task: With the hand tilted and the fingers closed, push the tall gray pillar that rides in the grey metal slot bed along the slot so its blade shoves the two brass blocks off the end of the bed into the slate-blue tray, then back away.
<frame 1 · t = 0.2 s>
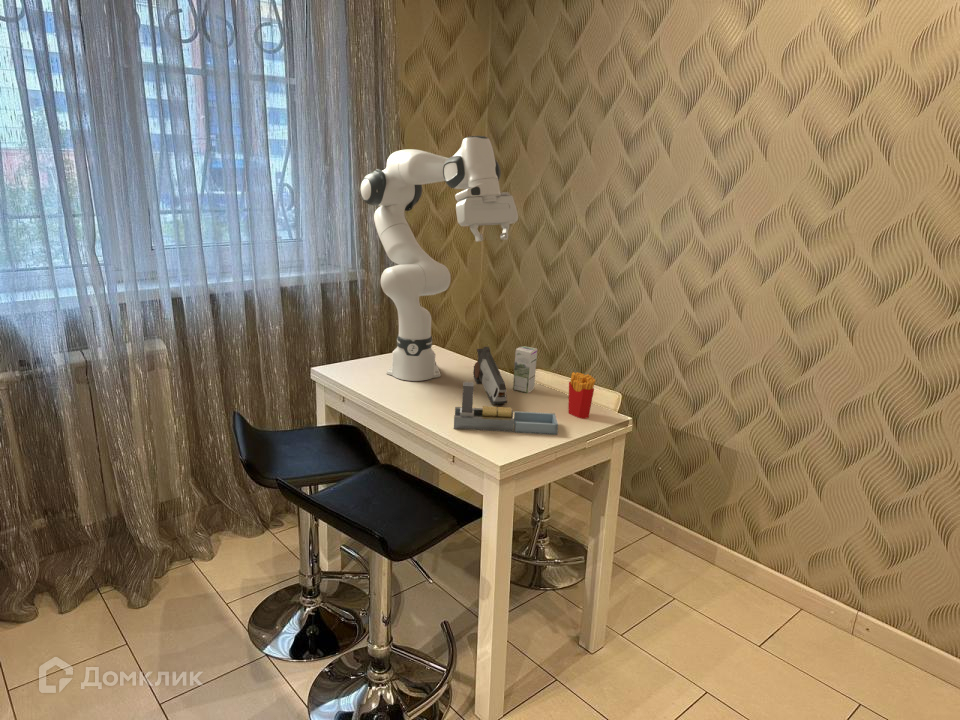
hand: (492, 240, 198), 52 cm above the table, tool tilted 20°, fingers open, 8 cm apart
tall gray pillar: (467, 402, 198), point 7 cm above the table, slide at 0.0 cm
french fries: (578, 415, 212), on the table
mustard yellow cube: (503, 422, 200), point 1 cm above the table, touching slot bed
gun: (488, 393, 227), on the table
tray: (535, 427, 200), on the table
syrup box: (523, 390, 232), on the table
slot bed: (483, 424, 200), on the table
golden tan cube: (488, 421, 200), point 1 cm above the table, touching slot bed
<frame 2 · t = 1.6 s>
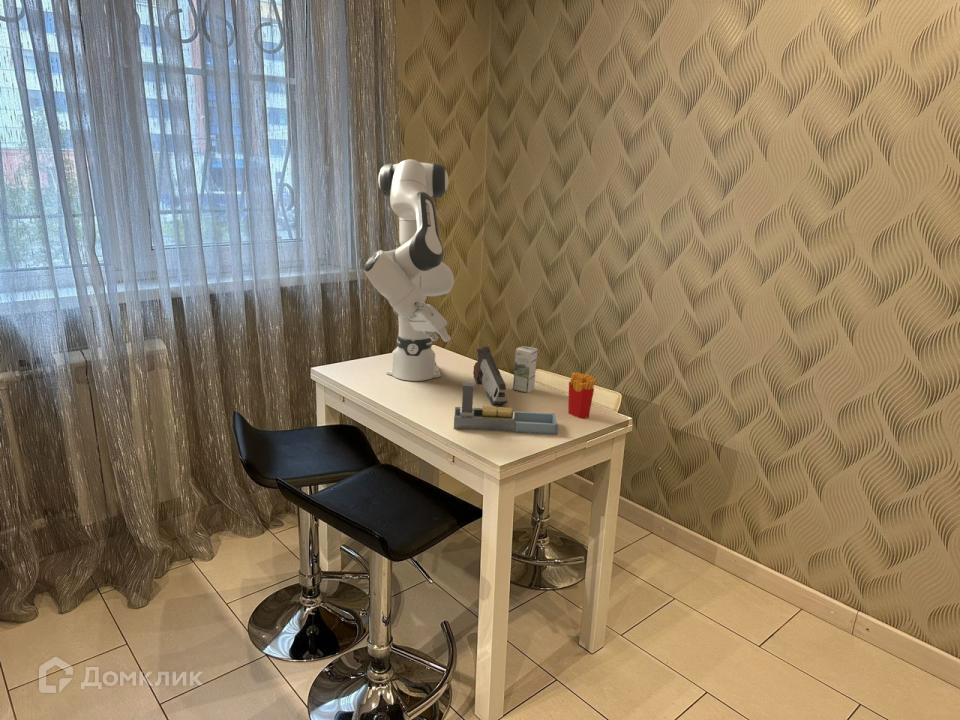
hand: (442, 340, 193), 25 cm above the table, tool tilted 40°, fingers open, 8 cm apart
nothing on the table moved.
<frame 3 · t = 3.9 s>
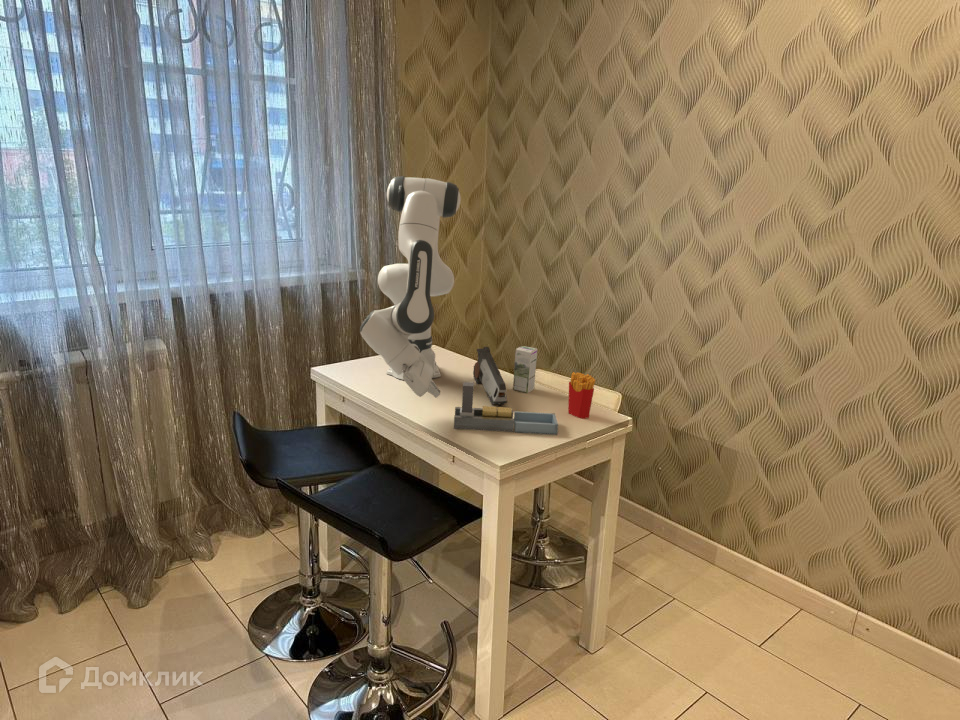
hand: (438, 394, 197), 9 cm above the table, tool tilted 45°, fingers closed
nothing on the table moved.
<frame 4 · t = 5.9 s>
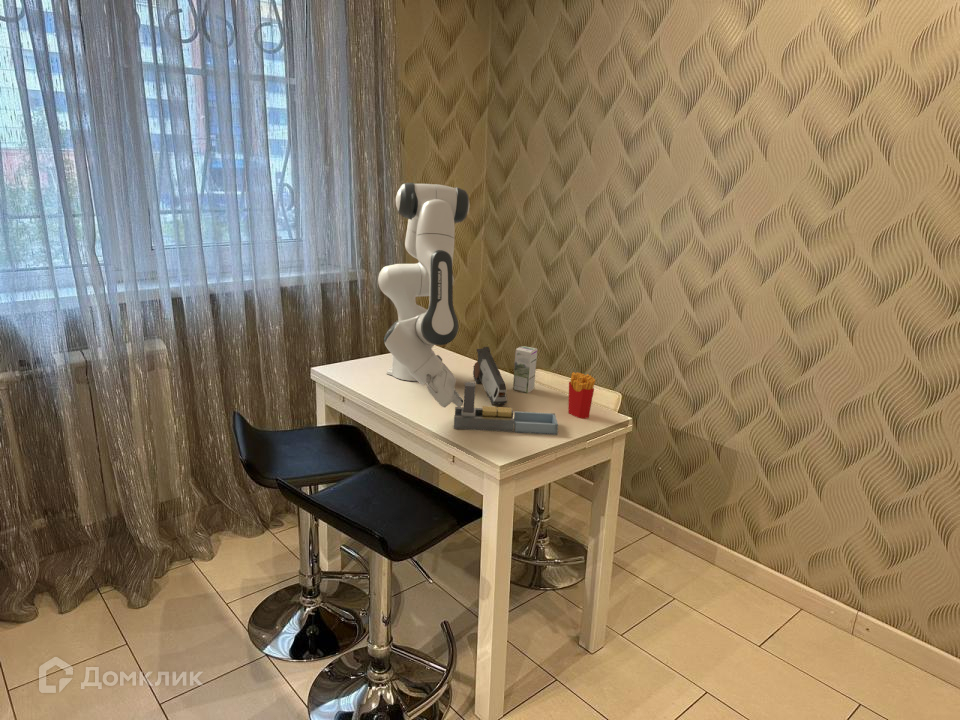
hand: (461, 404, 198), 6 cm above the table, tool tilted 45°, fingers closed, pressing on tall gray pillar
tall gray pillar: (469, 402, 198), point 7 cm above the table, slide at 0.5 cm, touching gripper
everything else where it was.
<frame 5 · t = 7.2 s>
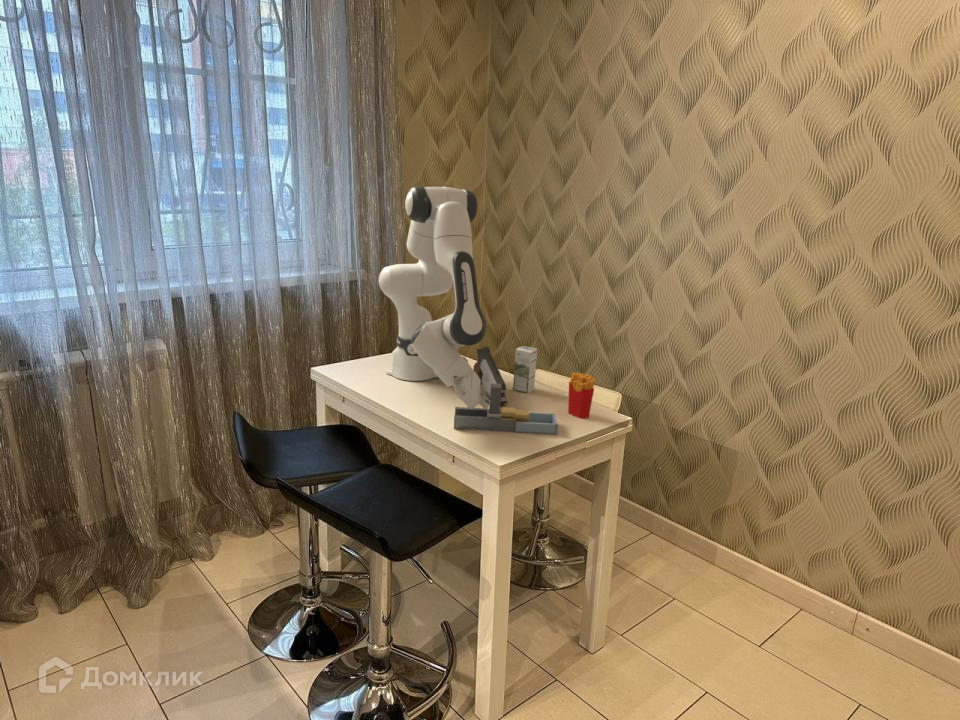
hand: (487, 406, 198), 6 cm above the table, tool tilted 45°, fingers closed, pressing on tall gray pillar
tall gray pillar: (494, 403, 198), point 7 cm above the table, slide at 7.9 cm, touching golden tan cube, gripper
mustard yellow cube: (521, 425, 200), point 1 cm above the table, touching golden tan cube, tray
golden tan cube: (507, 422, 200), point 1 cm above the table, touching mustard yellow cube, tall gray pillar
everything else where it was.
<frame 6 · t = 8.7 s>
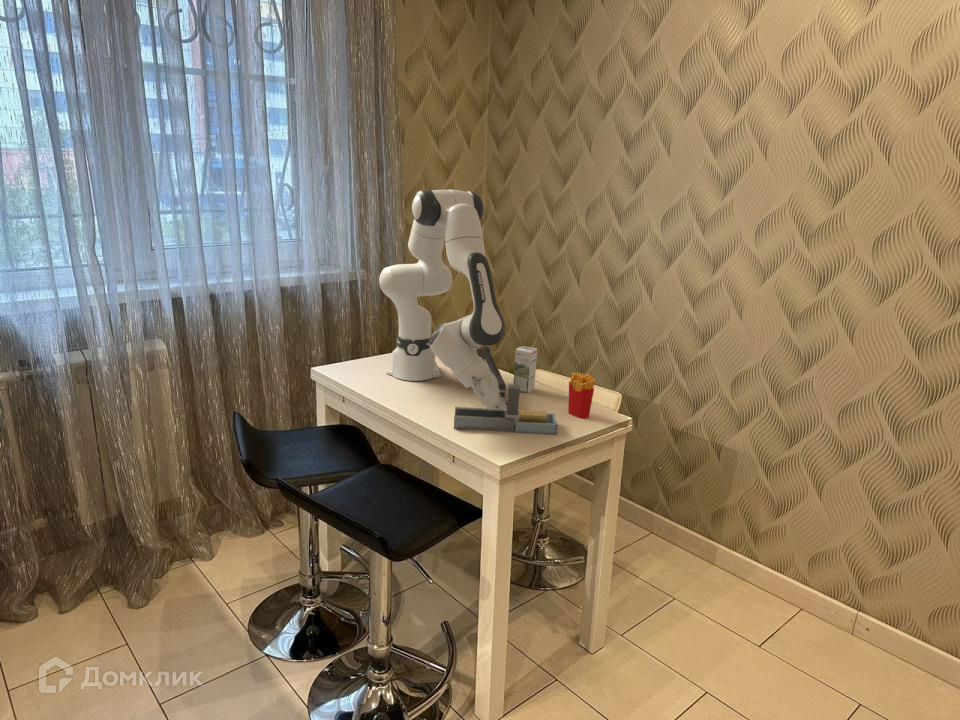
hand: (505, 407, 198), 6 cm above the table, tool tilted 45°, fingers closed, pressing on tall gray pillar
tall gray pillar: (512, 404, 198), point 7 cm above the table, slide at 13.1 cm, touching golden tan cube, gripper
mustard yellow cube: (538, 426, 200), resting on tray, touching golden tan cube
golden tan cube: (525, 425, 200), point 1 cm above the table, touching mustard yellow cube, tall gray pillar
everything else where it was.
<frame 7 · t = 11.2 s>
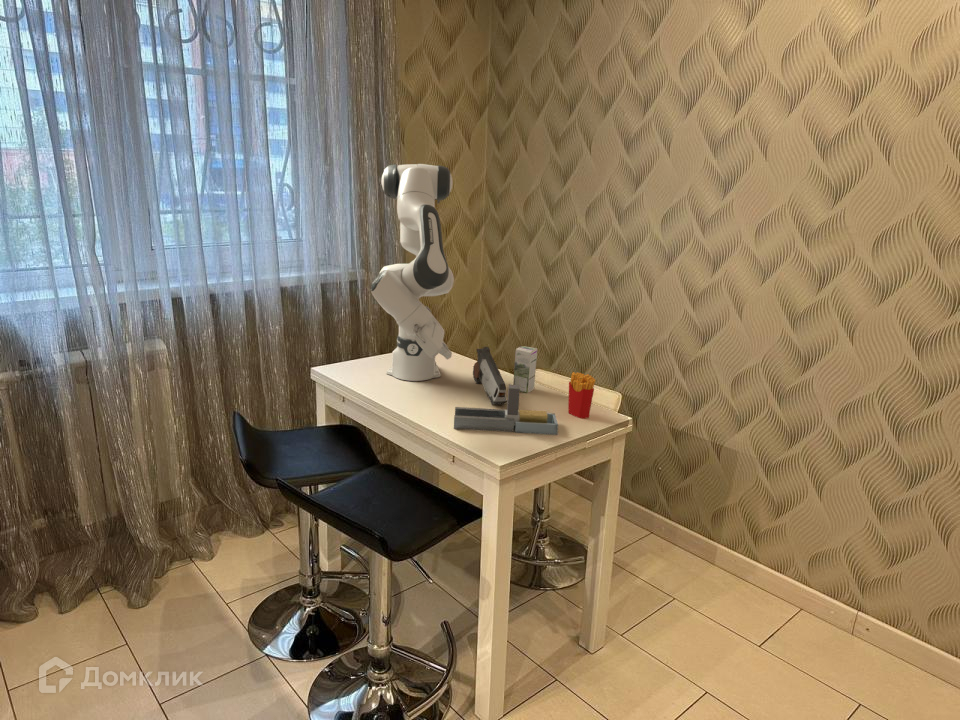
hand: (450, 356, 195), 20 cm above the table, tool tilted 45°, fingers closed
tall gray pillar: (512, 404, 198), point 7 cm above the table, slide at 13.1 cm, touching golden tan cube
golden tan cube: (525, 425, 200), resting on tray, touching mustard yellow cube, tall gray pillar
everything else where it was.
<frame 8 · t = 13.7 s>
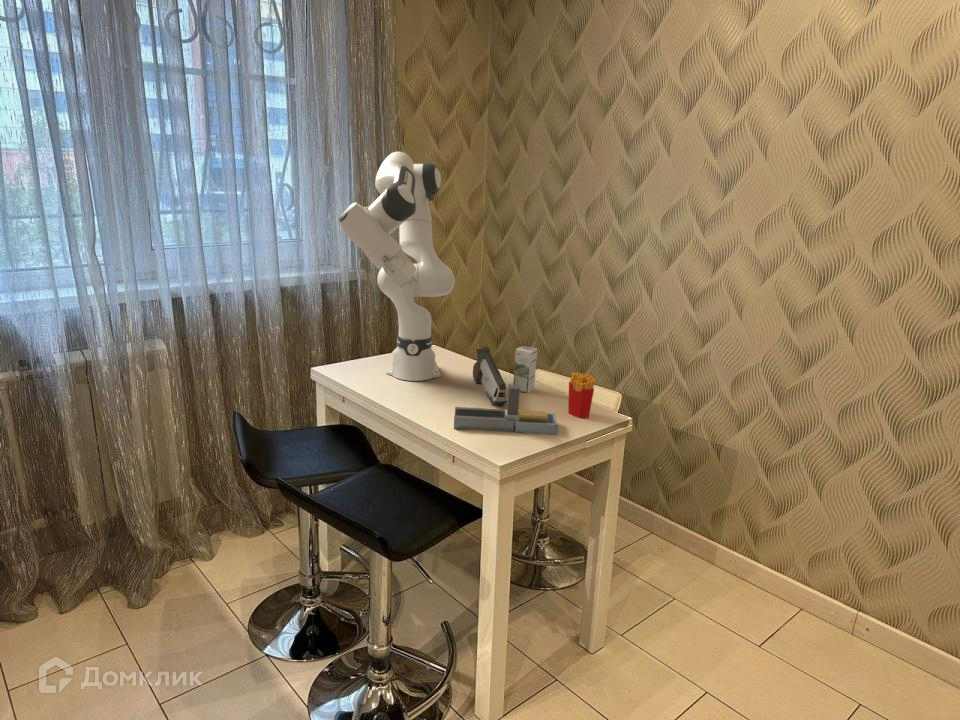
hand: (420, 291, 193), 37 cm above the table, tool tilted 45°, fingers closed
nothing on the table moved.
at the end: golden tan cube inside the target area on the tray (2.9 cm from its centre), point 0.5 cm above the tray's base; mustard yellow cube inside the target area on the tray (1.1 cm from its centre), point 0.5 cm above the tray's base; tall gray pillar slide at 13.1 cm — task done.
